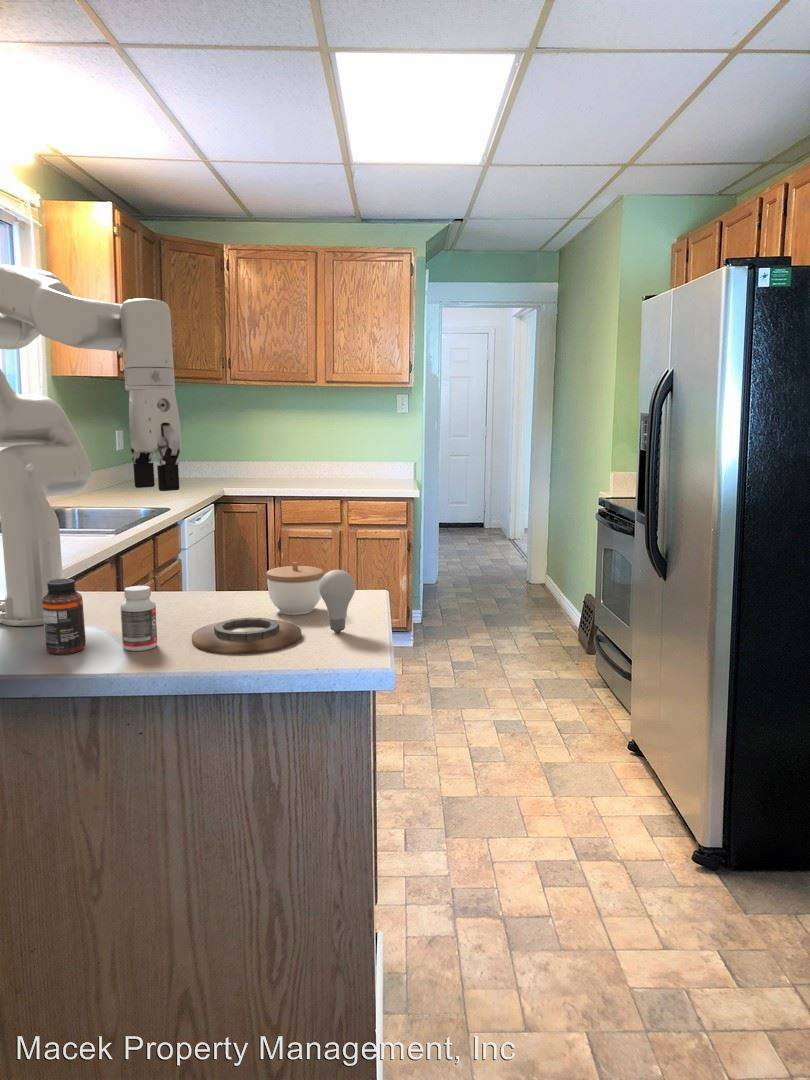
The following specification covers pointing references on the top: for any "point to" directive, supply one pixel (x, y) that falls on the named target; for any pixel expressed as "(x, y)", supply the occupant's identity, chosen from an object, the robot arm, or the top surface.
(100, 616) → the top surface
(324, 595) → the lightbulb
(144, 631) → the pill bottle
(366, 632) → the top surface
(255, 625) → the brown disc with ring
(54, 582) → the supplement bottle
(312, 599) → the lidded jar
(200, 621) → the top surface
